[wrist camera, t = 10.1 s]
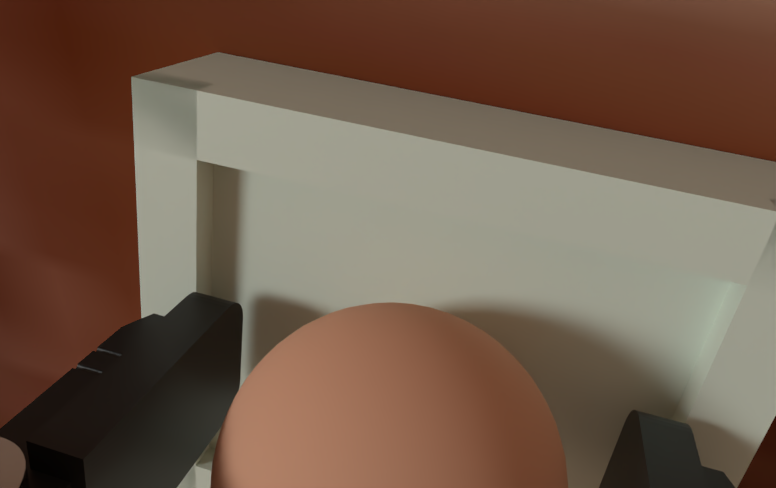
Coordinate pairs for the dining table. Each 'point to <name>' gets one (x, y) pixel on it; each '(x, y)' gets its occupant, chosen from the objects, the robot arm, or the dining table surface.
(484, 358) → the ball terracotta
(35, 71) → the dining table surface
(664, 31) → the dining table surface
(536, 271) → the pocket board
